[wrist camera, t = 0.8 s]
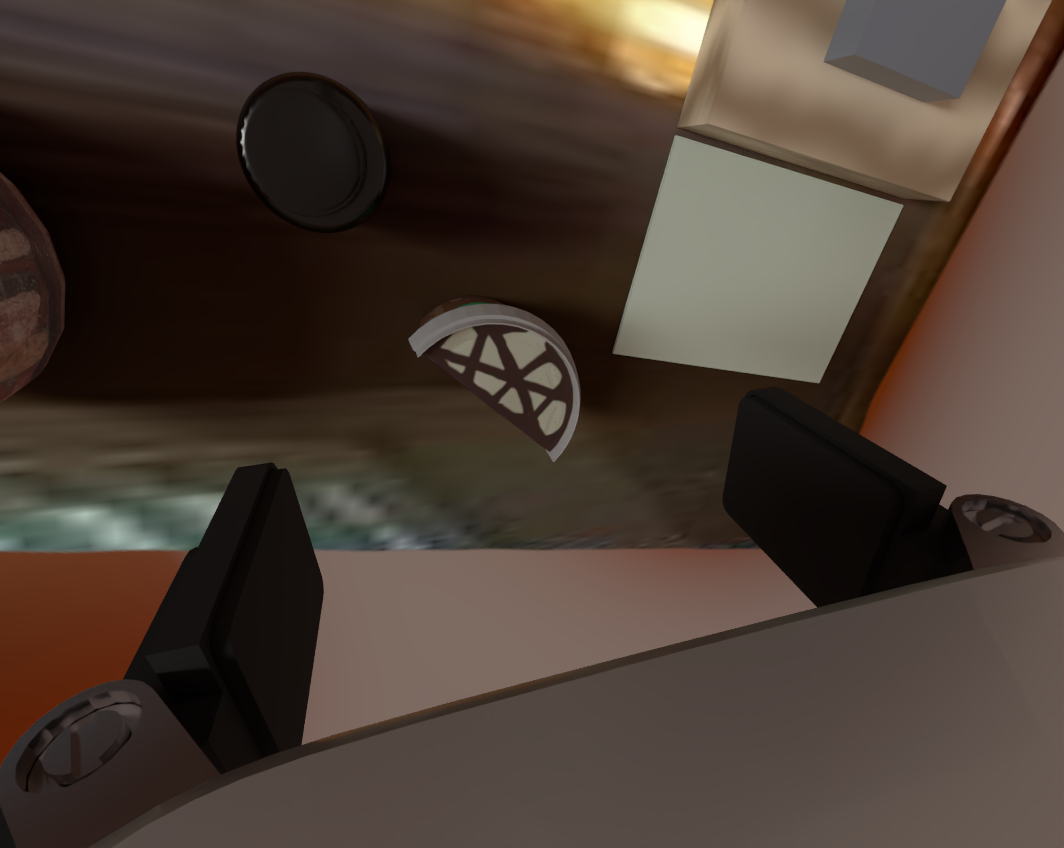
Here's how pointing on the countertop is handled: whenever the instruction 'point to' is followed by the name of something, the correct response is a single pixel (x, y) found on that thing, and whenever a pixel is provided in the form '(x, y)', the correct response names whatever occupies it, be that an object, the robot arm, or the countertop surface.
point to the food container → (506, 364)
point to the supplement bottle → (313, 152)
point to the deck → (842, 98)
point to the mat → (750, 266)
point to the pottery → (26, 292)
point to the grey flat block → (914, 43)
